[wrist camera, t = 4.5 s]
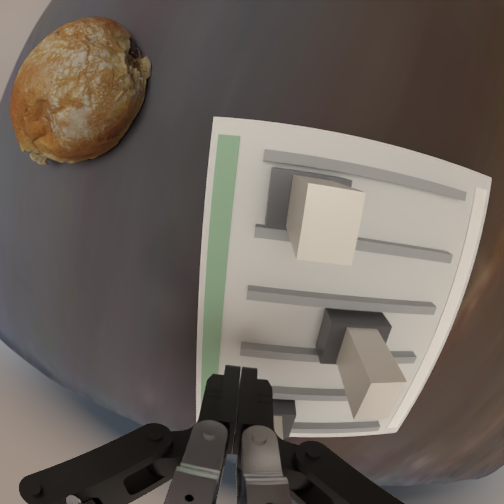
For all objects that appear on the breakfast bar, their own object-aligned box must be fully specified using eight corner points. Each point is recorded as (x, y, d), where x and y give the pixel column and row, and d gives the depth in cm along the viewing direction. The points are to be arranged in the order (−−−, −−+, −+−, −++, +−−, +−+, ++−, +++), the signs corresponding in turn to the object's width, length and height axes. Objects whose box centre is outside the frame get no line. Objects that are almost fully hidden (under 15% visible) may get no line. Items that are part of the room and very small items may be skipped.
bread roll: (169, 128, 20) (184, 81, 13) (51, 200, 18) (7, 188, 10) (119, 38, 18) (119, -25, 10) (11, 100, 15) (-29, 56, 8)
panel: (479, 175, 17) (498, 179, 15) (392, 422, 24) (398, 438, 22) (217, 119, 17) (211, 114, 15) (198, 415, 24) (194, 433, 22)
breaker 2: (342, 177, 16) (392, 192, 9) (333, 229, 17) (375, 274, 10) (271, 166, 16) (278, 172, 9) (265, 219, 17) (266, 261, 10)
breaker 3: (381, 311, 18) (424, 377, 12) (369, 348, 19) (401, 418, 13) (325, 307, 18) (352, 380, 12) (315, 345, 19) (333, 423, 13)
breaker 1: (294, 396, 21) (301, 470, 14) (287, 420, 22) (291, 490, 15) (241, 392, 21) (234, 467, 14) (238, 416, 22) (231, 487, 15)
